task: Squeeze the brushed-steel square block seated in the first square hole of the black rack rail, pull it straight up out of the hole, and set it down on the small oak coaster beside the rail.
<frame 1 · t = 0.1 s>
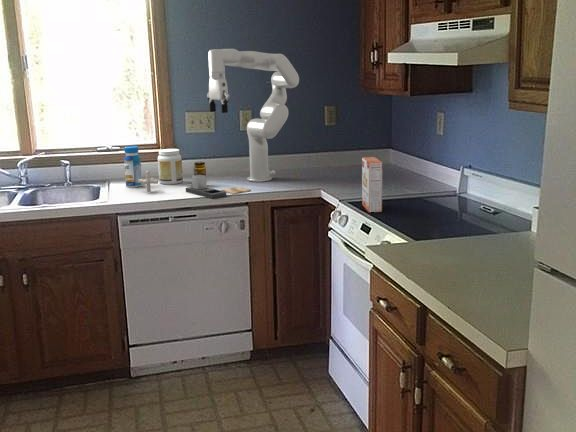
hand: (218, 112, 316), 37 cm above the worktop, tool pointing down, fingers open, 9 cm apart
oak coaster: (235, 191, 314), on the worktop
pipe connector: (148, 192, 316), on the worktop
supplement tub: (171, 183, 338), on the worktop
beverage bottle: (134, 186, 331), on the worktop
rack rail: (205, 193, 308), on the worktop
cracker box: (371, 209, 273), on the worktop
condiment: (198, 186, 328), on the worktop
nut block: (199, 192, 312), resting in rack rail
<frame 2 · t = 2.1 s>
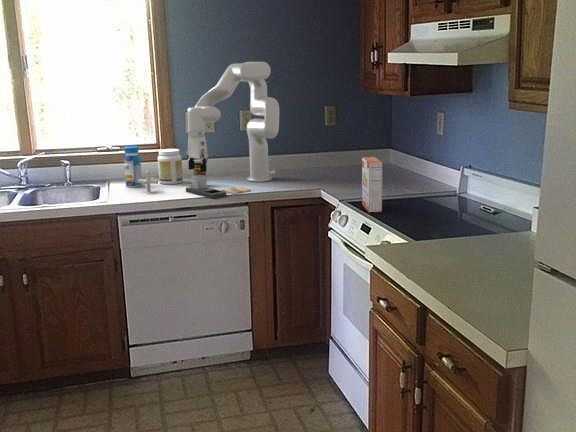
hand: (197, 170, 309), 11 cm above the worktop, tool pointing down, fingers open, 9 cm apart
nothing on the worktop moved.
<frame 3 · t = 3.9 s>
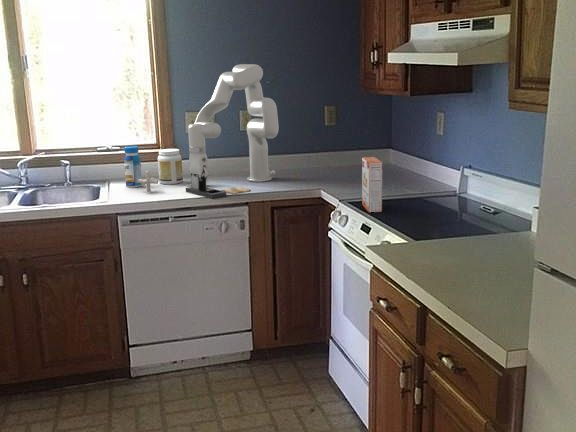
hand: (199, 187, 311), 2 cm above the worktop, tool pointing down, fingers closed on nut block, 5 cm apart
nut block: (199, 192, 312), resting in rack rail, touching gripper
everything else where it was.
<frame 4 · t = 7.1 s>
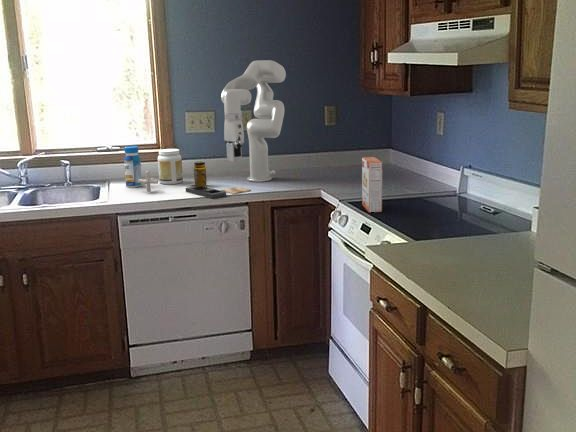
hand: (234, 155, 310), 17 cm above the worktop, tool pointing down, fingers closed on nut block, 5 cm apart
nut block: (234, 160, 310), point 15 cm above the worktop, touching gripper
everything else where it was.
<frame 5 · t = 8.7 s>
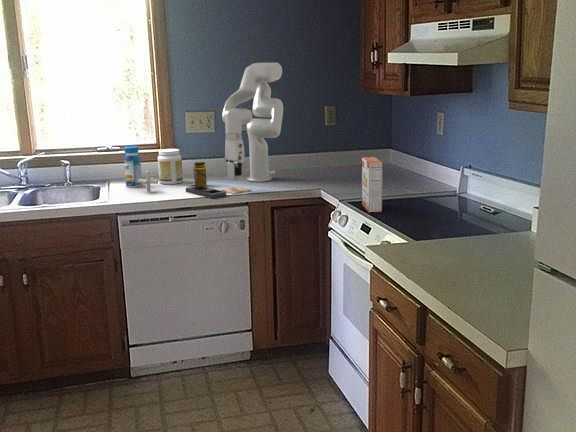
hand: (234, 174, 311), 8 cm above the worktop, tool pointing down, fingers closed on nut block, 5 cm apart
nut block: (235, 179, 312), point 6 cm above the worktop, touching gripper
everything else where it was.
when the fingers open (4 cm above the worktop, at t = 10.3 s): nut block drops 1 cm, resting on oak coaster.
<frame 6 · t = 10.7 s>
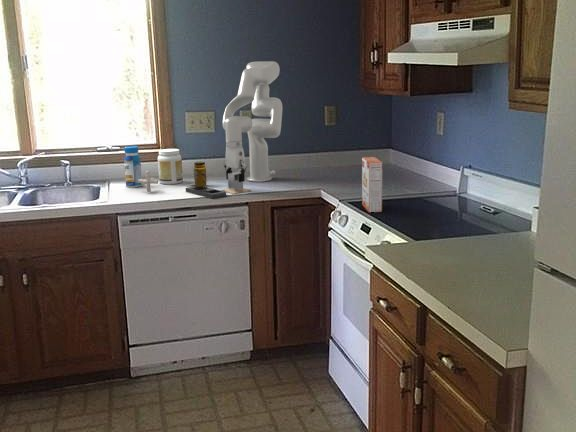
hand: (235, 180, 312), 5 cm above the worktop, tool pointing down, fingers open, 9 cm apart
nut block: (235, 189, 314), point 1 cm above the worktop, touching oak coaster
everything else where it was.
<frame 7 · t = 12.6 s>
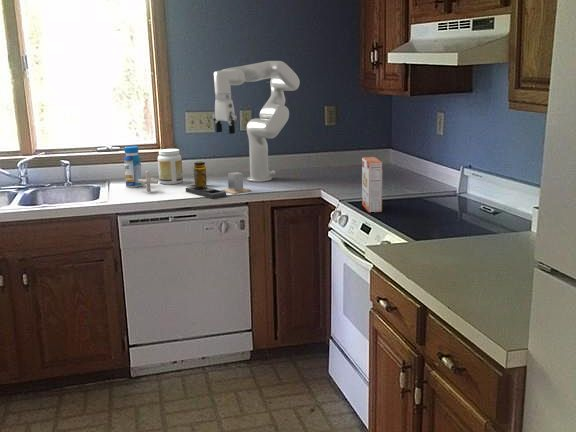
hand: (225, 132, 317), 27 cm above the worktop, tool pointing down, fingers open, 9 cm apart
nothing on the worktop moved.
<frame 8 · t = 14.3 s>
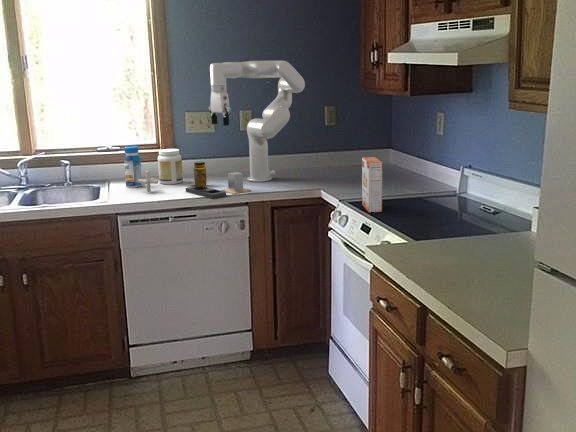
hand: (220, 124, 321), 30 cm above the worktop, tool pointing down, fingers open, 9 cm apart
nothing on the worktop moved.
at the end: nut block inside the target area on the oak coaster (0.1 cm from its centre), point 0.6 cm above the oak coaster's base; nut block tilted 0°; the gripper is holding nothing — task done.
